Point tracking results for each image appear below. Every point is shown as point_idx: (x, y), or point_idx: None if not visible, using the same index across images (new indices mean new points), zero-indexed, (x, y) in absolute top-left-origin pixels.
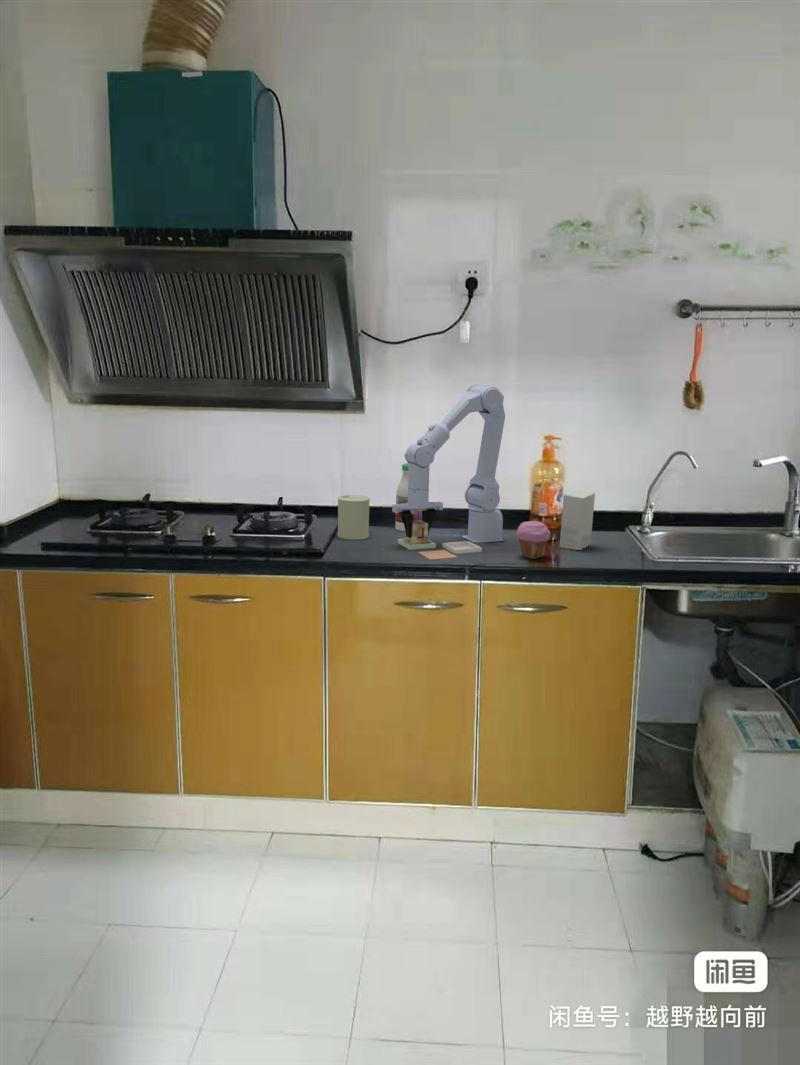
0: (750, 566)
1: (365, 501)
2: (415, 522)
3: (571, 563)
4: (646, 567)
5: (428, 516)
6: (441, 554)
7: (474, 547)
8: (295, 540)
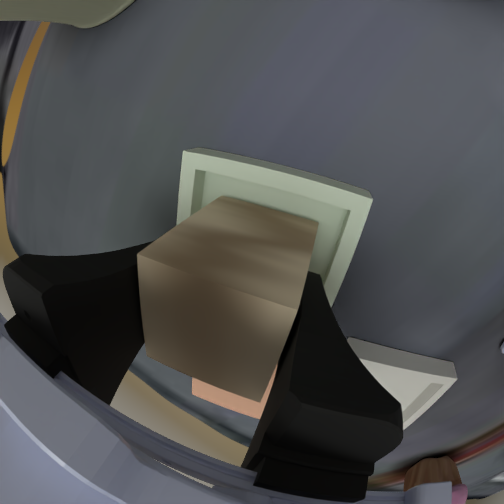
0: (499, 488)
1: None
2: (185, 333)
3: None
4: None
5: (248, 449)
6: None
7: (406, 414)
8: (11, 23)
